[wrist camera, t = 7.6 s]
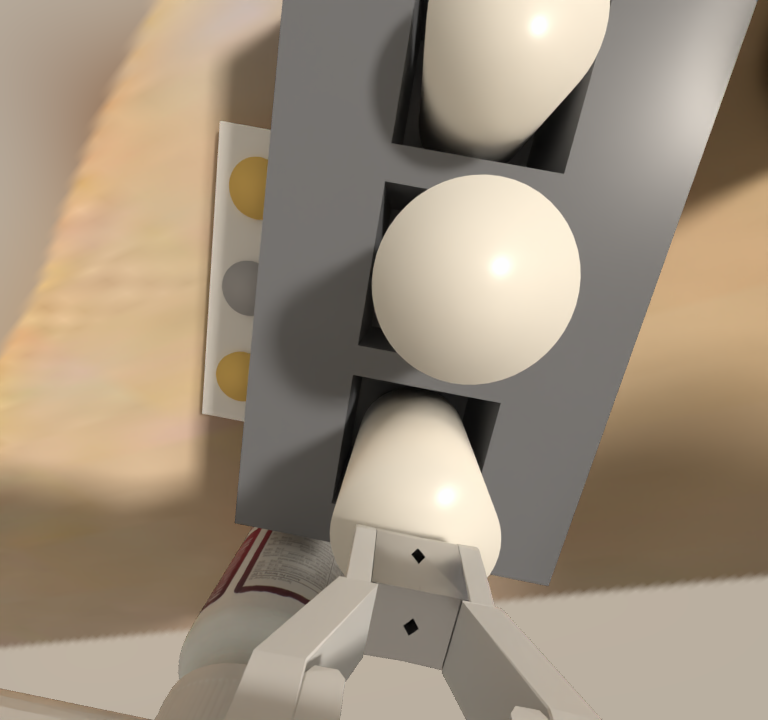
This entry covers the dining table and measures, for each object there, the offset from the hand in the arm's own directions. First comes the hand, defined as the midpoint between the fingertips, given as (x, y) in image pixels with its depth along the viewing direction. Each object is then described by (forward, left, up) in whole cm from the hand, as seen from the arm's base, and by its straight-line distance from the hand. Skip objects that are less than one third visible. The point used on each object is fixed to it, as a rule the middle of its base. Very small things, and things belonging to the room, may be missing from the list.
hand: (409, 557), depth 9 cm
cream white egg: (0, -7, -7) cm, 9 cm away
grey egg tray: (0, -7, -10) cm, 12 cm away
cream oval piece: (0, -13, -9) cm, 16 cm away
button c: (0, 0, -6) cm, 6 cm away
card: (+9, -5, -10) cm, 14 cm away
